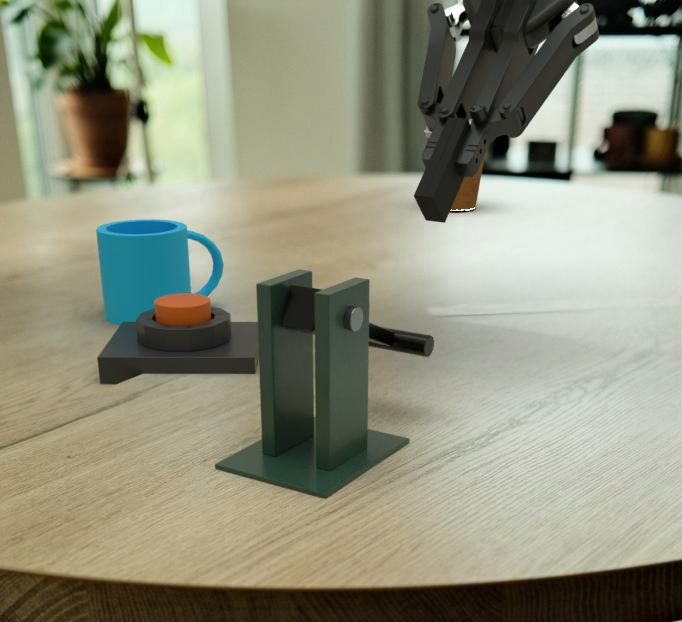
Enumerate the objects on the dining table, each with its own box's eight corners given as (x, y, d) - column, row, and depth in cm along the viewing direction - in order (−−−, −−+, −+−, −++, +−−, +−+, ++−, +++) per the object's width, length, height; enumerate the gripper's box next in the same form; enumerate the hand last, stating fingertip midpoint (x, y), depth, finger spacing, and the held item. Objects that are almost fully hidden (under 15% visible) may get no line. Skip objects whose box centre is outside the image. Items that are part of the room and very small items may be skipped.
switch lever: (353, 351, 70) (360, 317, 70) (429, 365, 68) (437, 330, 67) (254, 320, 60) (263, 280, 60) (340, 336, 57) (350, 293, 57)
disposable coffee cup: (494, 213, 146) (500, 124, 140) (429, 215, 144) (433, 125, 139) (476, 202, 154) (481, 118, 149) (415, 204, 153) (417, 119, 148)
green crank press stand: (306, 431, 70) (304, 257, 64) (409, 455, 66) (415, 273, 61) (215, 482, 62) (204, 290, 57) (325, 513, 58) (324, 310, 53)
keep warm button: (151, 329, 79) (149, 307, 78) (160, 314, 83) (159, 293, 82) (208, 329, 79) (206, 307, 78) (214, 314, 83) (213, 293, 82)
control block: (100, 384, 78) (94, 334, 77) (125, 346, 87) (120, 300, 86) (255, 384, 78) (253, 334, 77) (264, 346, 87) (263, 300, 86)
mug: (123, 332, 91) (114, 239, 88) (93, 311, 97) (83, 224, 94) (243, 313, 97) (239, 226, 93) (207, 295, 103) (202, 212, 100)
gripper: (640, -18, 74) (531, 253, 69) (478, -16, 81) (366, 232, 75) (626, -109, 68) (504, 181, 63) (451, -100, 74) (327, 165, 69)
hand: (429, 209), depth 69 cm, fingers closed
